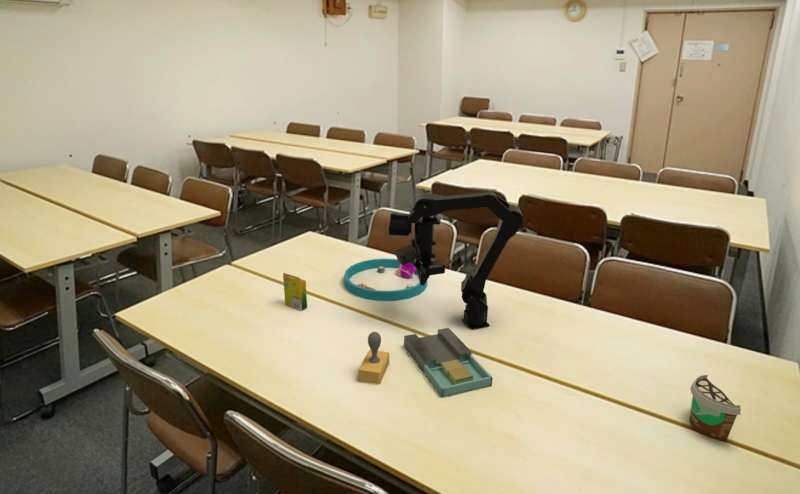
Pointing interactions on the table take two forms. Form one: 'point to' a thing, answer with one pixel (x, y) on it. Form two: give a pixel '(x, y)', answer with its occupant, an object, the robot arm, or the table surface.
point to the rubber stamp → (374, 361)
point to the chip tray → (447, 388)
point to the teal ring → (381, 265)
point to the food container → (711, 410)
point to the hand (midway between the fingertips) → (422, 284)
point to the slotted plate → (436, 348)
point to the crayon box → (295, 292)
